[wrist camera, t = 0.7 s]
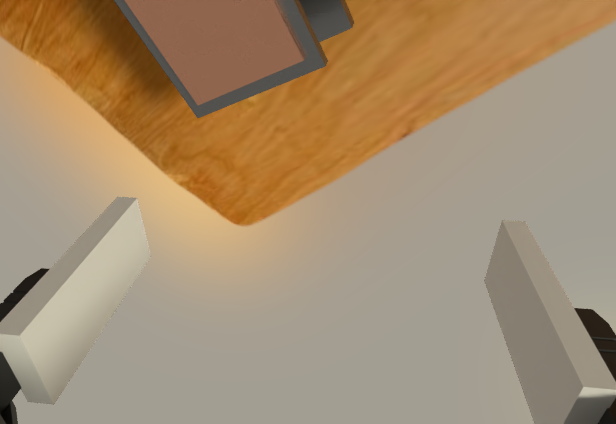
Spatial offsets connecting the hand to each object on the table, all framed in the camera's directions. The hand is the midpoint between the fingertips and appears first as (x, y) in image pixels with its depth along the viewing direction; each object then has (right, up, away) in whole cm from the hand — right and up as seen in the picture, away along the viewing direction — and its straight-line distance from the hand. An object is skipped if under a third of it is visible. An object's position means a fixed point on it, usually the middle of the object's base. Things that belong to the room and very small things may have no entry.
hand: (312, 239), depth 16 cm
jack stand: (-4, +19, +18) cm, 26 cm away
